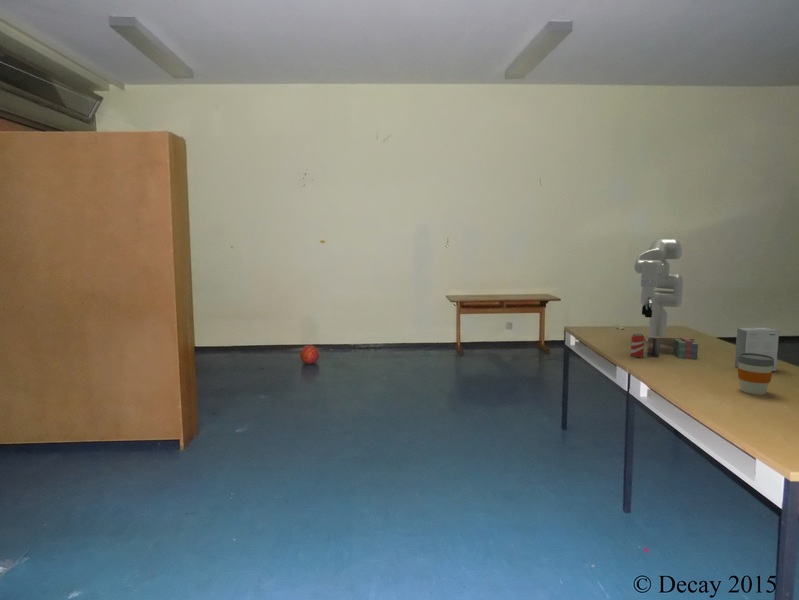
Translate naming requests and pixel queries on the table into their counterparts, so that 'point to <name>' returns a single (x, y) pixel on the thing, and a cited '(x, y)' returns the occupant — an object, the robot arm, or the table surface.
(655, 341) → the bookend
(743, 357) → the reusable coffee cup
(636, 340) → the beverage can
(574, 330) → the table surface
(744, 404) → the table surface
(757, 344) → the hard drive box
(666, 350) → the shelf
